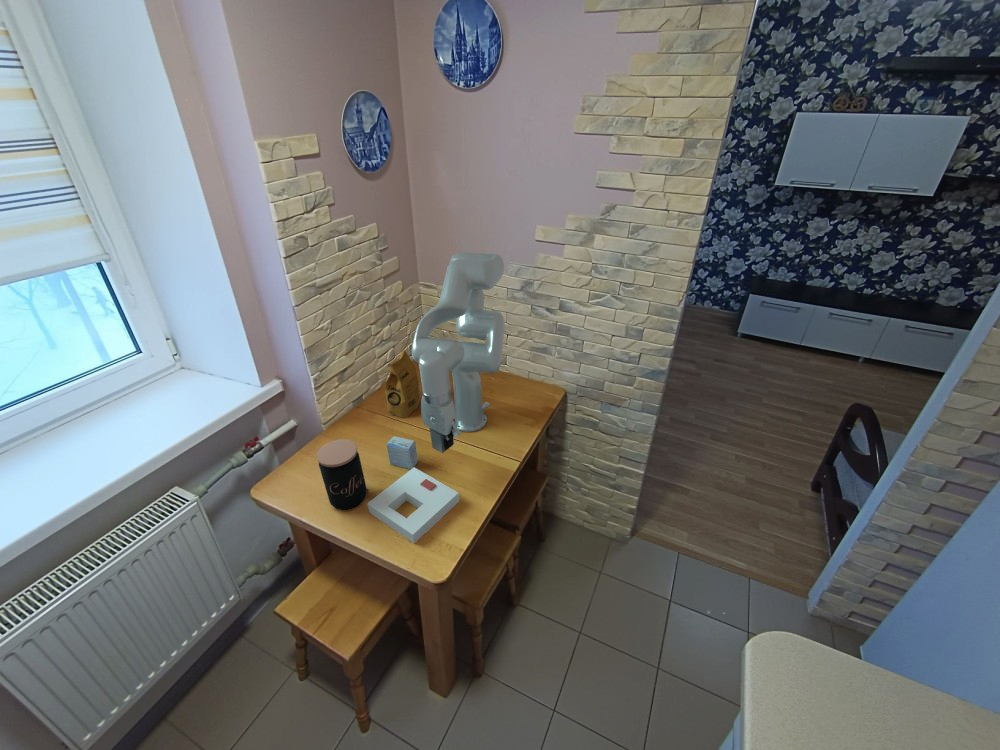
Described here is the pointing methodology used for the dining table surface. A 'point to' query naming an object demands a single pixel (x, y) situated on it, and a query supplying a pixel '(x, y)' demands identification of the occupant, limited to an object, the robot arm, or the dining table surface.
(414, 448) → the medicine box
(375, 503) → the socket plate
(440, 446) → the plug
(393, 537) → the dining table surface
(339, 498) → the coffee jar
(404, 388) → the coffee package
